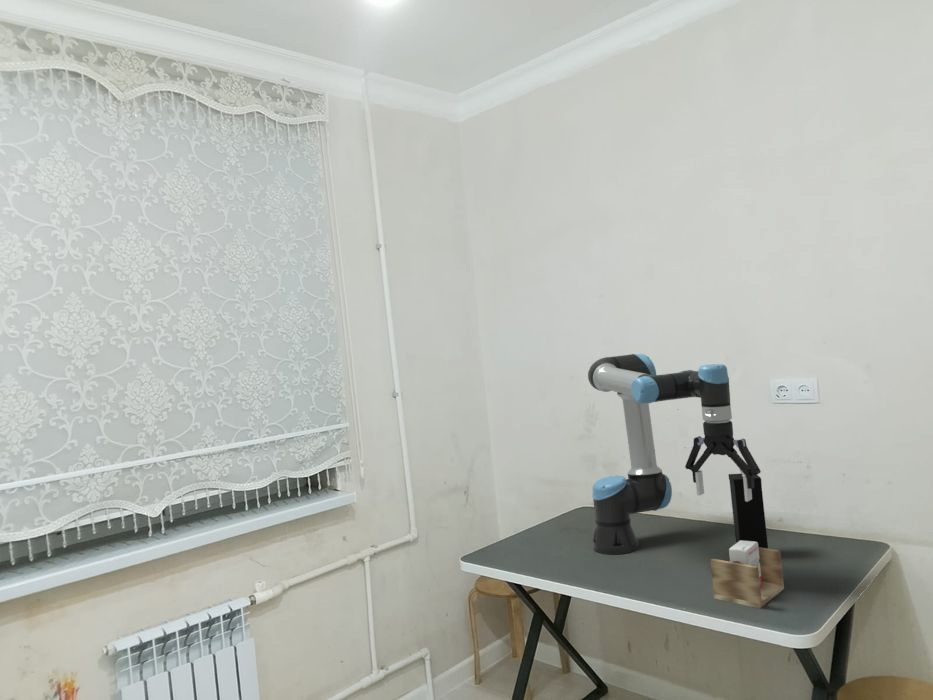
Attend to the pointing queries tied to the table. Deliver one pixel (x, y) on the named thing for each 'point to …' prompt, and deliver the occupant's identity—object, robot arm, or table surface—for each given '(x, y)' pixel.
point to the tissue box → (748, 511)
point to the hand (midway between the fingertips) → (724, 497)
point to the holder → (748, 579)
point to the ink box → (746, 554)
